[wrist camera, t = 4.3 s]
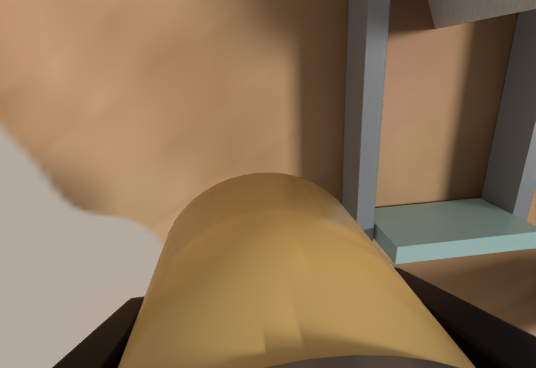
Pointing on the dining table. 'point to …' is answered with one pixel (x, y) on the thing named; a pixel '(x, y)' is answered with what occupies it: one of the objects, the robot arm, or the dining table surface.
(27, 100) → the dining table surface
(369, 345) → the jar
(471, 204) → the bar
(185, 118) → the dining table surface
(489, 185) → the lane
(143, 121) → the dining table surface
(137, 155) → the dining table surface
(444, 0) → the grey angular block
